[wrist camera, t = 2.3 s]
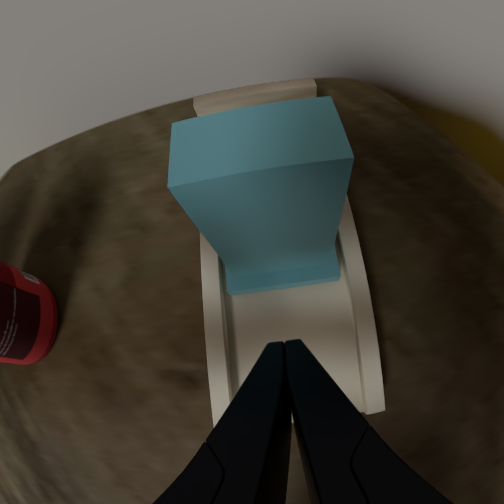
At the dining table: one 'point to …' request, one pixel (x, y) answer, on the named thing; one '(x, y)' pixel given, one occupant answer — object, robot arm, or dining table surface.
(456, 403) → the dining table surface
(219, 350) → the box
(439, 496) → the robot arm
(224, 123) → the slider
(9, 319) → the canned food
